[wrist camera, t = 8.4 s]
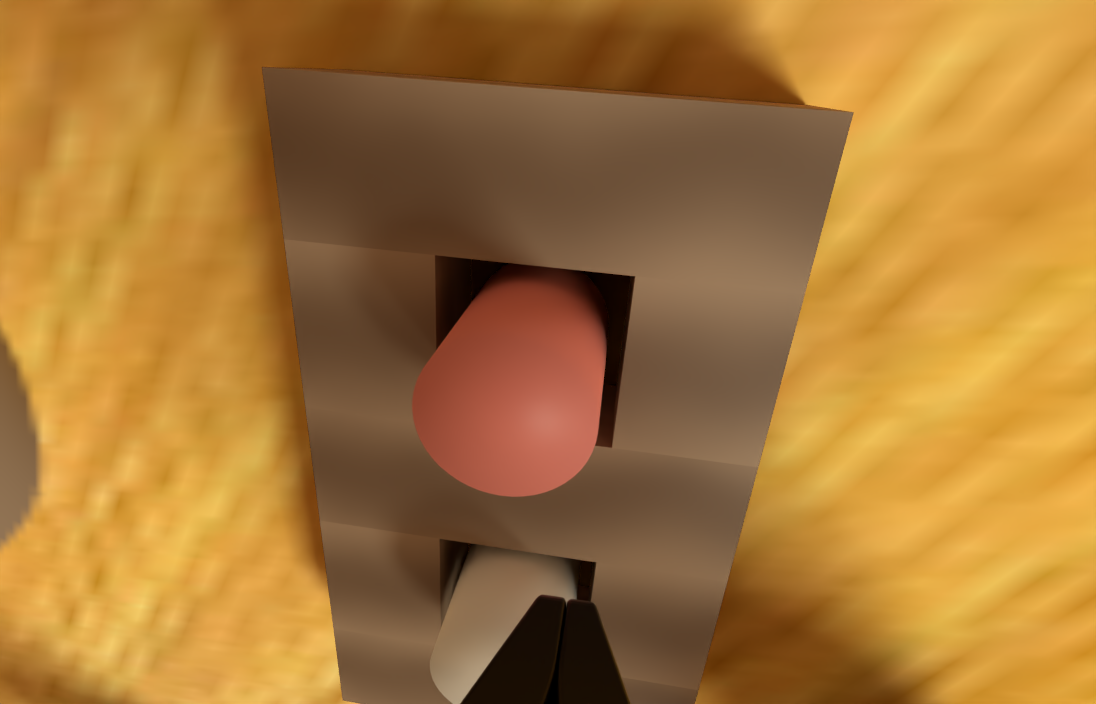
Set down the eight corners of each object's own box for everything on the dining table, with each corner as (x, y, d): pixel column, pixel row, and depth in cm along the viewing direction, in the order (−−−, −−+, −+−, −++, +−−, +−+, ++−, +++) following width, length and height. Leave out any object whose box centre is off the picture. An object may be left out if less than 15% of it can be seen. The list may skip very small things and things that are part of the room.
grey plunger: (577, 590, 25) (561, 733, 19) (475, 574, 25) (431, 710, 20) (587, 508, 23) (572, 641, 17) (476, 492, 23) (428, 617, 18)
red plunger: (601, 391, 20) (588, 508, 14) (473, 375, 20) (414, 483, 15) (616, 264, 18) (608, 345, 13) (475, 250, 18) (408, 322, 13)
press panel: (673, 670, 27) (679, 761, 23) (379, 621, 28) (342, 700, 25) (806, 105, 17) (853, 112, 13) (336, 69, 18) (261, 67, 14)
